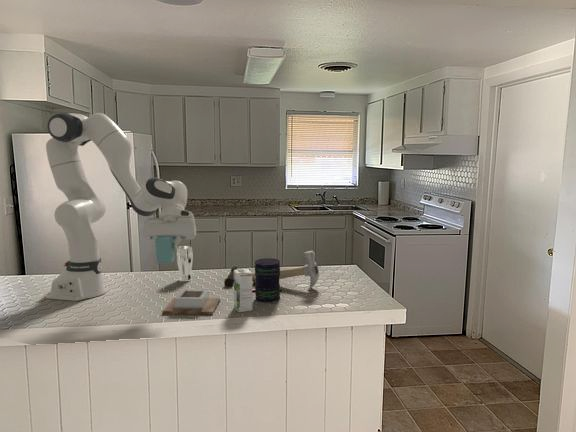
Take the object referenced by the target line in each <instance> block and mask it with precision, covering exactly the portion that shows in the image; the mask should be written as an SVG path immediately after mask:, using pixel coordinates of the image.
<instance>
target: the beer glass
mask: <svg viewBox="0 0 576 432" xmlns="http://www.w3.org/2000/svg"><path fill="white" fill-rule="evenodd" d="M193 257H194V255H193V247H192V245H180V246H177V249H176V263H177V267H178V273H179V275H178V281H179V282H182V283H187V281H188V282H192V281H193V275H192V267H193V260H194V259H193Z"/></svg>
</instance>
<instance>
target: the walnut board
mask: <svg viewBox="0 0 576 432" xmlns="http://www.w3.org/2000/svg"><path fill="white" fill-rule="evenodd" d="M175 298H176V297H173V298H172V299H171V300H170V302H169V303H167V305H166V306H165V308H164V309H163V310H161V311H162V315H173V314H213V313H215V312H216V310H217V308H218V307H219V305H220V303H221V298H220V297H219V298H218V297H217V298H214V297H213V298H212V297H211V298H210V297H209V301H208V302H207V304H206V305H205V307H204V308H203V310H199V309H175ZM217 306H218V307H217ZM213 315H214V314H213Z"/></svg>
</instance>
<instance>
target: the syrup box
mask: <svg viewBox="0 0 576 432" xmlns="http://www.w3.org/2000/svg"><path fill="white" fill-rule="evenodd" d="M252 273H253V272H252V271H251V269H250V270H249V268H237V270H234V283H233V308H234V310H235V311H236V312H237V313H242V312H243V313H244V312H250V311H253V281H252Z"/></svg>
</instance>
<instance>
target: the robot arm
mask: <svg viewBox="0 0 576 432" xmlns="http://www.w3.org/2000/svg"><path fill="white" fill-rule="evenodd" d="M46 126H47V131H48V133H49V135H50V136H51V137H52V138H50V139H48V141H47V142H46V145H45V152H46V157H47V160H48V161H47V162H48V164H49V168H50V172H51V174H52V177H53V179H54V183H55V185H56V187H57V189H58V190H60V191H61V192H63V194H64V195H65V197H66V198H67V200H66V201H63V203H61V204H60V205H58V206H57V207H56V209H55V210H54V215H53V216H54V219H55V222H56V223H57V225H58V226H59V227H61V229H62V230H63V232H64V234H65V238H66V239H67V240H66V241H67V245H68V246H67V247H68V256H69V260H68V261H66V262H65V263H63V267H66V269H65V270H64V271H63V272H61V274H58V276H57V277H55V278H54V279H53V280H52V282H51V287H50V290H49V291H47V292H46V293H45V296H44V298H45V299H49V300H60V301H71V302H76V301H77V302H78V301H82V300H85V299H91V298H95V297H99V296H102V295H103V294H105V293H107V289H106V285H105V283H104V280H103V275H102V271H103V267H102V266H103V265H102V258H101V257H100V255H101V254H100V241H99V238H98V237H97V236H96V235H95V232H94V231H93V228H92V224H94V223H96V222H98V221H100V220H101V218H103V217H104V215H105V213H106V205H105V203H104V201H103V200H102V199H100V198H99V197H98V196H97V194H96V192H95V191H94V189H93V188H92V186H91V184H90V183H89V181H88V179H87V177H86V173H85V170H84V168H83V164H82V160H81V159H80V156H79V151H78V149H79V146H81V147H84V146H85V145H86V144H88V143H89V142H92V143H93V144H94V145H95V146H96V147H97V148H98V150H99V151H100V152H101V154H102V155H103V156H104V158H105V160H106V162H107V165H108V167H109V171H110V172H111V174H112V176H113V178H114V179H115V180H116V182H117V184H118V185H119V187H120V188H121V189H122V191H123V192H124V193H125V195H126V196H127V198H128V201H129V203H130V206H131V208H132V210H133V211H134V212H135V213H136V214H138V215H140V216H143V217H148V218H147V219H145V220H144V221H143V226H142V228H141V231H140V235H141V238H142V239H143V240H144V241H153V243H154V249H155V250H156V241H155V239H156V238H158V237H159V236H173V239H174V243H172V248H173V249H174V250H177V247H179V246H178V245H180V244H181V242H182V241H183V240H194V239H196V237H197V226H196V219H195V216H194V214H193V212H192V211H189V210H185V209H186V206H187V202H188V188H187V186H186V185H185V183H183V182H182V181H180V180H170V181H169V180H164V179H162V178H160V177H150V178H149V179H147V180H146V181H145V183H144V184H143V185H142V186H140V185H139V183H138V181H137V180H136V178H135V177H134V175H133V174H132V172H131V168H130V162H131V155H132V150H133V148H132V147H133V145H132V143H131V141H130V140H129V138H128V136H127V135H126V134H125V132H124V131H123V130H122V129H121V128H120V127H119V125H118V124H117V123H116V122H115V121H114V120H112V119H111V118H110V117H109V116H108V115H107V114H105V113H102V112H96V113H92V114H91V115H87V114H82V113H78V112H77V113H76V112H69V113H66V112H60V113H55V114H53V115H52V116H50V117H49V119H48V121H47V125H46ZM159 207H160V209H161V210H160V215H159V217H151V216H153V215H154V214H155V213H156V212H157V210H158V208H159Z"/></svg>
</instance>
